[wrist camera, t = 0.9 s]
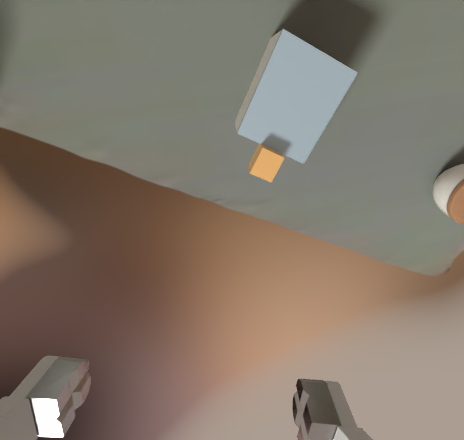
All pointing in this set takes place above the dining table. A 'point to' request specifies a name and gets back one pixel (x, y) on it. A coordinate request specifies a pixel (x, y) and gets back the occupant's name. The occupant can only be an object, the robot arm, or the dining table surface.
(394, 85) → the dining table surface
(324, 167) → the dining table surface
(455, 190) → the lidded jar
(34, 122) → the dining table surface
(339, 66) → the lid
